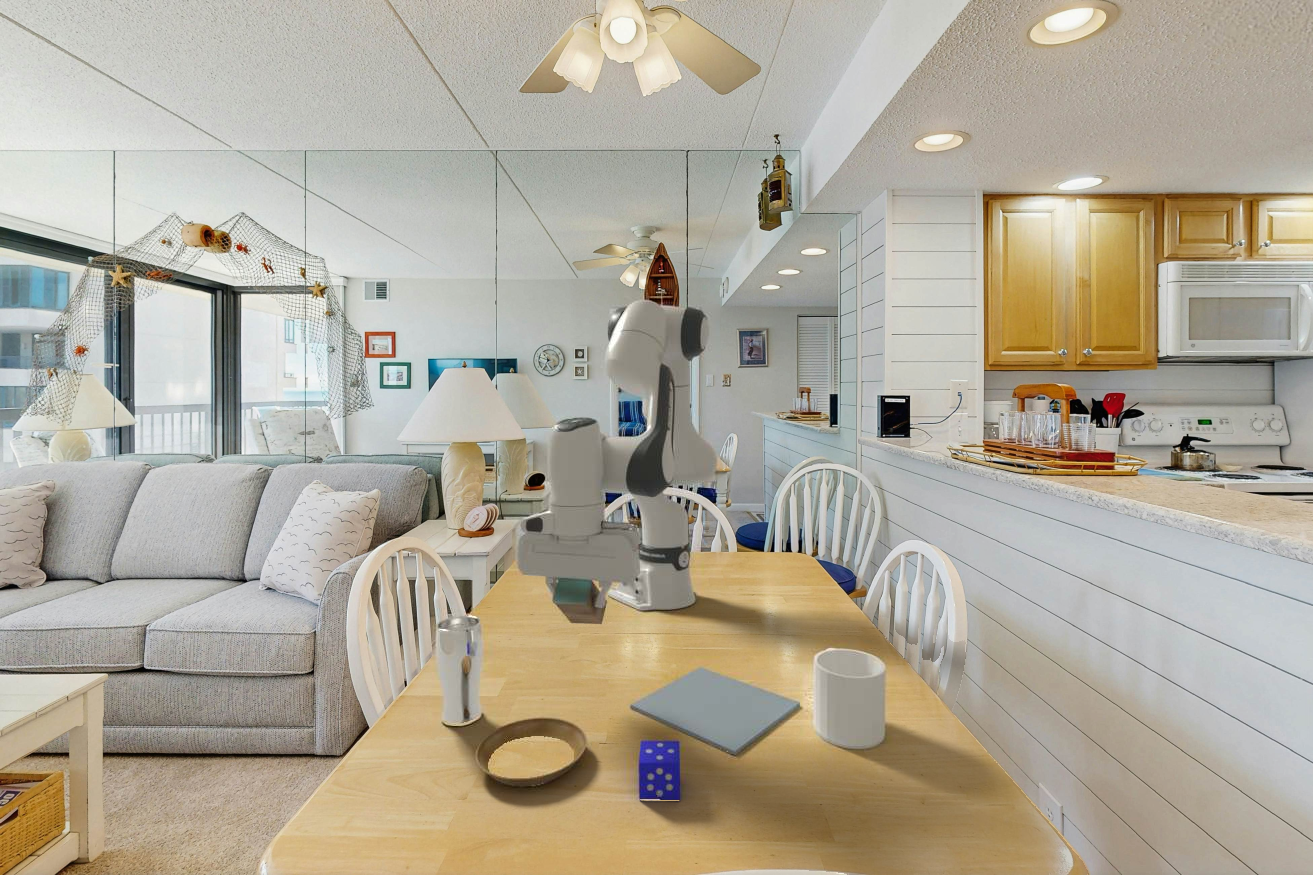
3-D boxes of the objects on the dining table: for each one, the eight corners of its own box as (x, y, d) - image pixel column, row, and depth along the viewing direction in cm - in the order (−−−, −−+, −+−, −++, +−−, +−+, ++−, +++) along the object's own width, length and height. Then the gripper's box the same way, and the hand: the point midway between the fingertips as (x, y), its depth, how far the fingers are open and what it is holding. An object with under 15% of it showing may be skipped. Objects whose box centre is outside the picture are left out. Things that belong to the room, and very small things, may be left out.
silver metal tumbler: (494, 709, 98) (491, 617, 97) (467, 732, 91) (463, 633, 90) (457, 703, 100) (454, 612, 99) (428, 724, 93) (424, 628, 92)
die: (641, 777, 80) (640, 739, 80) (679, 777, 80) (679, 739, 79) (639, 802, 75) (638, 762, 75) (680, 802, 75) (679, 762, 74)
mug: (898, 747, 86) (898, 675, 85) (829, 752, 85) (829, 680, 84) (858, 703, 98) (858, 640, 98) (797, 707, 97) (797, 644, 97)
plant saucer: (484, 811, 74) (483, 790, 74) (469, 748, 87) (469, 730, 87) (601, 779, 80) (601, 760, 80) (570, 725, 93) (570, 708, 93)
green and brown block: (577, 600, 105) (558, 577, 99) (607, 601, 103) (590, 577, 97) (571, 622, 102) (552, 600, 96) (601, 624, 100) (584, 601, 95)
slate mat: (630, 708, 98) (630, 704, 98) (700, 670, 111) (700, 666, 111) (734, 755, 84) (734, 751, 84) (799, 705, 98) (799, 702, 98)
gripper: (645, 519, 98) (646, 603, 99) (530, 513, 104) (532, 593, 105) (631, 527, 92) (633, 617, 93) (511, 520, 98) (513, 605, 99)
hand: (579, 604), depth 99 cm, fingers closed on green and brown block, 6 cm apart
